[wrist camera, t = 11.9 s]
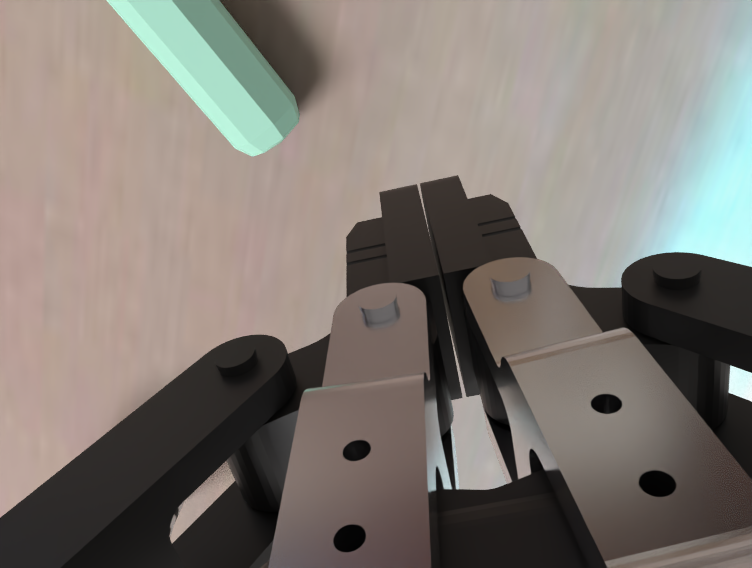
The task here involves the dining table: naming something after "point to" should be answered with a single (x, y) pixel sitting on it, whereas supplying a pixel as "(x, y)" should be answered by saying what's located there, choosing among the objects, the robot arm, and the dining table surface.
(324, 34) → the dining table surface
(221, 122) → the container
